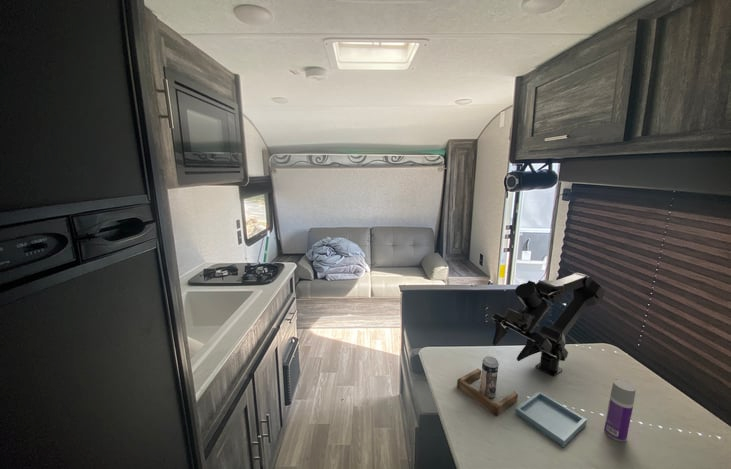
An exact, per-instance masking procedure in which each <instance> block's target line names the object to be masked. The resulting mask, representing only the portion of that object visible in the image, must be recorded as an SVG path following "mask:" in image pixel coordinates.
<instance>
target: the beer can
mask: <svg viewBox="0 0 731 469" xmlns="http://www.w3.org/2000/svg"><path fill="white" fill-rule="evenodd" d="M481 361H482V365H481V378H480V384H479V385H480V388H479V392H480V393H482V394H483V395H485V396H486V397H487V398H489V399H490V398H491V399H492V398H495V397H496V395H497V394H496V393H497V392H496V391H497V381H498V374H499V366H500V364H499V362H498V360H497V359H496V357H494V356H490V355H489V356H484V357H483V359H482V360H481Z"/></svg>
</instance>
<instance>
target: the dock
mask: <svg viewBox="0 0 731 469" xmlns="http://www.w3.org/2000/svg"><path fill="white" fill-rule="evenodd" d="M481 374H482V369H480V368H476V369H474V370H473V371H471V372H469V373H467V374H465V375H463V376H461V377H460V378H457V381H456V388H457V389H458V390H460V391H461V392H462V393H463V394H465V395H467V396H468V397H469V398H470V399H471V400H473V401H474V402H476V403H477V404H478V405H480V406H481V407H483V408H484V409H485V410H486V411H488V412H489V413H491V414H492V415H493V416H494V417H498V416H499V415H501V414H503V412H506V410H508V409H509V408H511V407H512V406H514V405H515V404H517V403H518V397H519V393H517V392H516V391H515V390H514V391H512V392H511V393H510V394H508V395H507V396H505V397H503V398H502V399H500V400H498V401H497V402H494V401H493V400H492V399H490V398H489V397H486V396H485V395H483V394H482V393H481V392H480V390H477V389H476V388H475V387H473V386H472V385H471V384H472V383H474V382H475V381H478V380H479V379H480V380H481Z"/></svg>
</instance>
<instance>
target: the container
mask: <svg viewBox="0 0 731 469" xmlns="http://www.w3.org/2000/svg"><path fill="white" fill-rule="evenodd" d="M636 391H637V389H636V387H635V386H634V385H633V384H632V383H630V382H628V381H625V380H622V379H614V380H613V383H612V385H611V390H610V395H609V401H608V406H607V410H606V411H607V412H606V417H605V422H604V429H603V431H604V433H605V435H607V436H609V437H610V439H612V440H615V441H617V442H625V441H627V439H628V434H629V428H630V423H631V418H632V415H633V409H634V402H635V396H636Z"/></svg>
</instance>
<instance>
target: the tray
mask: <svg viewBox="0 0 731 469" xmlns="http://www.w3.org/2000/svg"><path fill="white" fill-rule="evenodd" d="M514 414H515V415H516V416H517V417H519V418H520V419H522V420H523V421H525V422H526V423H527V424H528V425H530V426H531V427H533V428H534V429H536V430H537V431H539V432H540V433H542V434H543V435H545V436H546V437H547V438H549V439H550V440H552V441H553V442H555V443H556V444H557V445H559V447H562V448H564V447H565V446H567V444H568V443H569V442H571V440H573V438H575V437H576V436H577V435H578V433H579V434H580V432H581V431H582V430H583V429H584V428H585V427H586V426H587V421H588V419H587V418H586V417H584V416H582V415H581V414H579V413H577V412H575V411H574V410H572V409H570V408H568V407H567V406H565V405H563V404H561V402H559V401H557V400H555V399H554V398H552V397H551V396H548V395H546V394H545V393H543V392H541V391H537V392H536V393H535V394H533V395H532V396H530V397H529V398H528V399H526V400H525V401H523V402H522V403H520V404H519V405H518V406H516V407H515V411H514Z"/></svg>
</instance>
